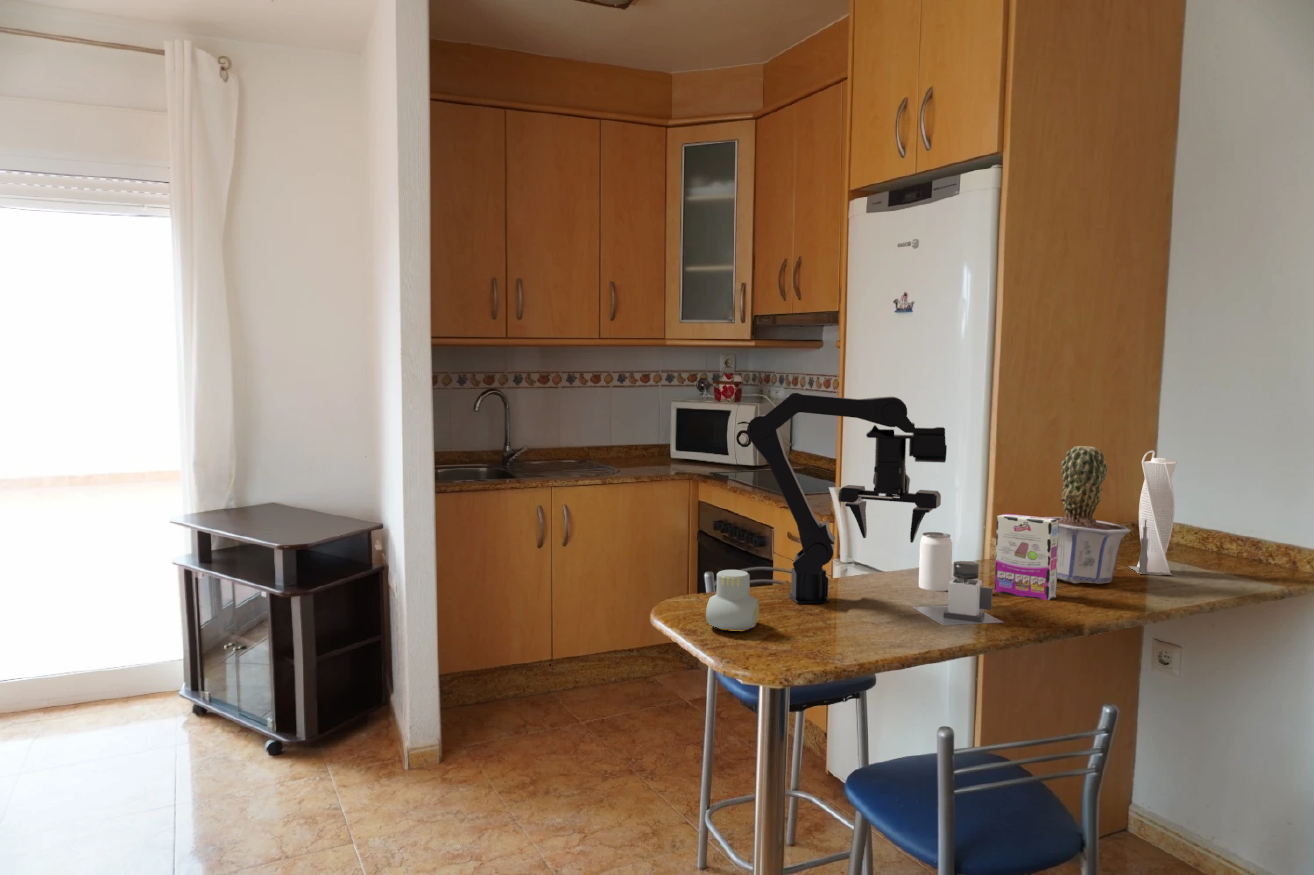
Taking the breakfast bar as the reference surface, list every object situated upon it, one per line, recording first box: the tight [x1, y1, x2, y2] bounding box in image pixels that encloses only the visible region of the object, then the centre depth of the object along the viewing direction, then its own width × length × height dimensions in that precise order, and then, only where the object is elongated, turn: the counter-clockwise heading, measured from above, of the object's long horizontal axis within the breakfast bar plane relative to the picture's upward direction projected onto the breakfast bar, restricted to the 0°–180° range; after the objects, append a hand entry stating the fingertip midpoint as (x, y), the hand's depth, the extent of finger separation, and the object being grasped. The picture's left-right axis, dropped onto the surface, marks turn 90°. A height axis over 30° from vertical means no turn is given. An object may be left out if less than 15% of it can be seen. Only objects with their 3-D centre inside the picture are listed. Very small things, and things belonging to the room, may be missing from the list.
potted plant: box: [1043, 445, 1132, 585], centre depth 195 cm, size 18×18×30 cm
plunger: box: [952, 560, 980, 584], centre depth 163 cm, size 4×4×8 cm
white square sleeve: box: [944, 576, 994, 622], centre depth 163 cm, size 8×6×6 cm
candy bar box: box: [994, 513, 1059, 601], centre depth 182 cm, size 11×5×16 cm, turn 47°
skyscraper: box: [1128, 449, 1178, 576], centre depth 203 cm, size 8×8×28 cm
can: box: [918, 531, 953, 592], centre depth 185 cm, size 6×6×12 cm
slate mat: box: [911, 605, 1005, 626], centre depth 165 cm, size 12×12×1 cm
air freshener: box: [705, 569, 760, 630], centre depth 158 cm, size 11×8×10 cm
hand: (888, 540), depth 173 cm, fingers open, 9 cm apart
